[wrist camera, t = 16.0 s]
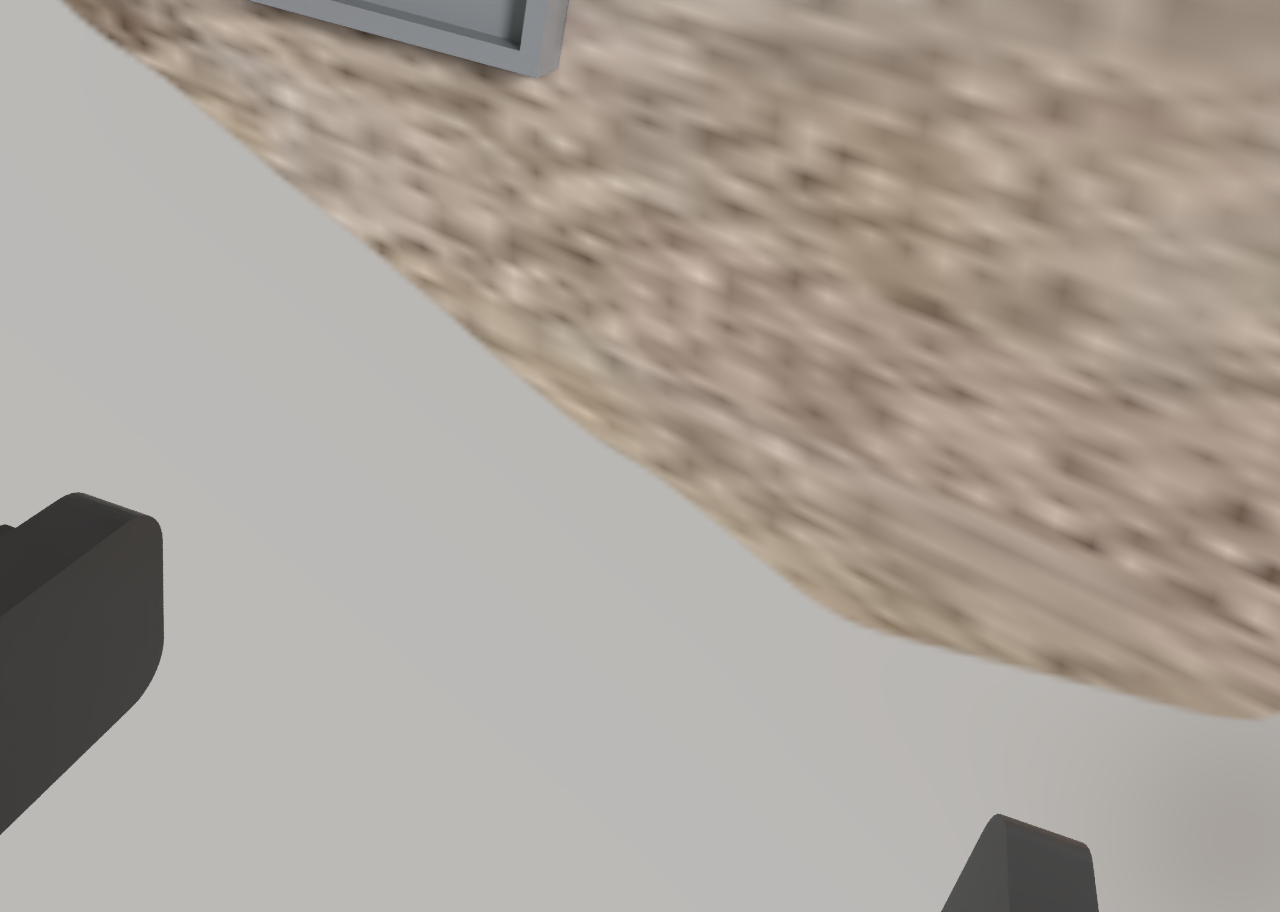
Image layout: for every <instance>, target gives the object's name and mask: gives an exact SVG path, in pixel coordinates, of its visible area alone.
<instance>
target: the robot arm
mask: <svg viewBox="0 0 1280 912" xmlns="http://www.w3.org/2000/svg"><path fill="white" fill-rule="evenodd" d="M163 642H164V615H163V539H162V532H161V528H160V525H159V523H158V522H157V521H156V520H155V519H154V518H153V517H151V516H148V515H145V514H142V513H139V512H137V511H134V510H131V509H128V508H125V507H122V506H119V505H116V504H113V503H111V502H107V501H105V500H102V499H99V498H96V497H93V496H90V495H87V494H85V493H79V492H78V493H71V494H69V495H66V496H64V497H62V498H60V499H59V500H57V501H56V502H54V503H53V504H51V505H50V506H48V507H47V508H45V509H44V510H42V511H41V512H39V513H38V514H36V515H35V516H33V517H32V518H30V519H28V520H27V521H25V522H24V523H22V524H21V525H19V526H18V527H16V528H14V527H11V526H8V525H1V526H0V835H1V834H2V833H3V832H4V831H5V830H6V829H7V828H8V827H9V826H10V825H11V824H12V823H13V822H14V821H15V820H16V819H17V818H18V817H19V816H20V815H21V814H22V813H23V812H24V811H25V810H26V809H27V808H28V807H29V806H30V805H31V804H32V803H33V802H35V801H36V800H37V799H38V798H39V797H40V796H41V795H42V794H43V793H44V792H45V791H46V790H47V789H48V788H49V787H50V786H51V785H52V784H53V783H54V782H55V781H56V780H57V779H58V778H59V777H60V776H61V775H62V774H63V773H64V772H65V771H66V770H67V769H69V768H70V766H72V765H73V764H74V763H75V762H76V761H77V760H78V759H79V758H80V757H81V756H82V755H83V754H84V753H85V752H86V751H87V750H88V749H89V748H90V747H91V746H92V745H93V744H94V743H95V742H96V741H97V740H98V739H99V738H100V737H102V736H103V734H104V733H106V732H107V731H108V730H109V729H110V728H111V727H112V726H113V725H114V724H115V723H116V722H117V721H118V720H119V719H120V718H121V717H122V716H123V715H124V714H125V713H126V712H127V711H128V710H129V709H130V708H131V707H132V706H133V705H134V704H135V703H136V702H137V701H138V700H139V699H140V697H141V696H142V695H143V693H144V692H145V690H146V689H147V687H148V686H149V684H150V682H151V680H152V678H153V676H154V674H155V672H156V670H157V667H158V665H159V662H160V658H161V655H162V650H163ZM941 912H1099V910H1098V902H1097V894H1096V886H1095V877H1094V869H1093V862H1092V856H1091V853H1090V850H1089V848H1088V847H1087V845H1085V844H1084V843H1082V842H1079V841H1076V840H1073V839H1071V838H1067V837H1065V836H1062V835H1059V834H1056V833H1053V832H1050V831H1047V830H1045V829H1042V828H1039V827H1036V826H1033V825H1030V824H1027V823H1024V822H1021V821H1019V820H1016V819H1013V818H1010V817H1007V816H1004V815H1001V814H996V815H994V816H993V817H992V818H991V819H990V821H989V822H988V823H987V825H986V827H985V829H984V830H983V832H982V834H981V836H980V838H979V840H978V842H977V844H976V846H975V848H974V850H973V851H972V853H971V855H970V857H969V859H968V861H967V863H966V865H965V867H964V869H963V871H962V873H961V875H960V876H959V878H958V881H957V882H956V884H955V886H954V888H953V890H952V892H951V894H950V896H949V898H948V900H947V902H946V904H945V905H944V908H943V910H942V911H941Z"/></svg>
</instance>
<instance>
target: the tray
mask: <svg viewBox="0 0 1280 912" xmlns="http://www.w3.org/2000/svg"><path fill="white" fill-rule="evenodd" d="M250 1H253V2H257V3H261V4H264V5H268V6H272V7H275V8H279V9H283V10H287V11H290V12H294V13H298V14H301V15H305V16H309V17H312V18H316V19H320V20H323V21H327V22H331V23H335V24H338V25H342V26H346V27H349V28H353V29H357V30H360V31H364V32H368V33H371V34H375V35H379V36H383V37H386V38H390V39H394V40H397V41H401V42H405V43H408V44H412V45H416V46H419V47H423V48H427V49H431V50H434V51H438V52H442V53H445V54H449V55H453V56H456V57H460V58H464V59H468V60H471V61H475V62H479V63H482V64H486V65H490V66H493V67H497V68H501V69H504V70H508V71H512V72H516V73H519V74H523V75H527V76H530V77H534V78H538V77H540V76H543V75H545V74H547V73H549V72H552V71H554V70H556V69H558V65H559V59H560V53H561V46H562V40H563V34H564V27H565V21H566V15H567V8H568V2H569V0H250Z"/></svg>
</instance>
